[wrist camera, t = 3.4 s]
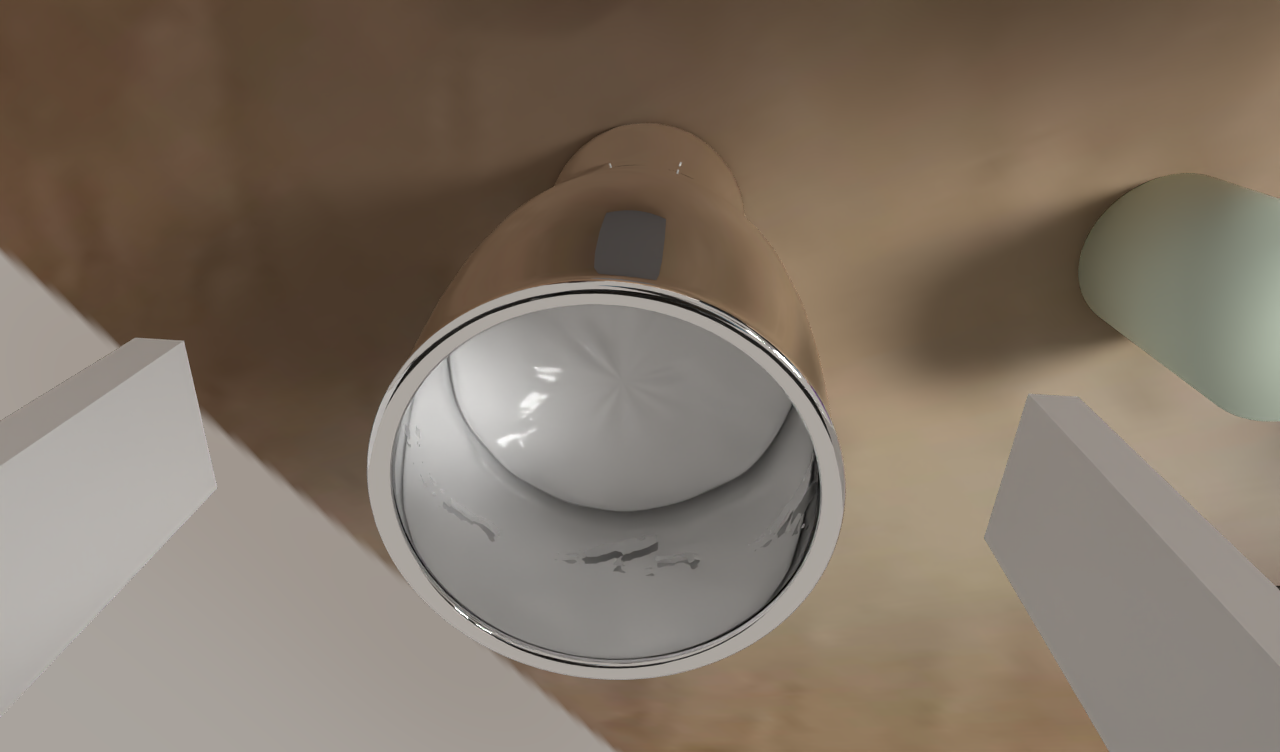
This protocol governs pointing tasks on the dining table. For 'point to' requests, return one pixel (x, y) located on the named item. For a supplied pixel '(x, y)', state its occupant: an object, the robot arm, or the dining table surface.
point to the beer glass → (614, 425)
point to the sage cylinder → (1194, 285)
